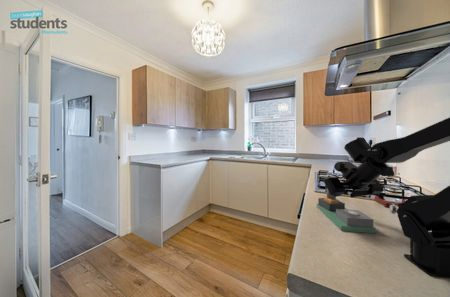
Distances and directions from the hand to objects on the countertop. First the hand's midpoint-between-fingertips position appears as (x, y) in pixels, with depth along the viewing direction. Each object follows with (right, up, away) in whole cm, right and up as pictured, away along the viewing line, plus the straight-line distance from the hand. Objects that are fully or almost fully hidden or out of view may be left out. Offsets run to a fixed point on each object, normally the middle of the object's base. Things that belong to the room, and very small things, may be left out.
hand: (339, 196), depth 65 cm
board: (0, -8, -1) cm, 8 cm away
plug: (0, -6, +5) cm, 8 cm away
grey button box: (0, -6, -7) cm, 10 cm away
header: (0, -6, +5) cm, 8 cm away
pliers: (+30, -8, +11) cm, 33 cm away
